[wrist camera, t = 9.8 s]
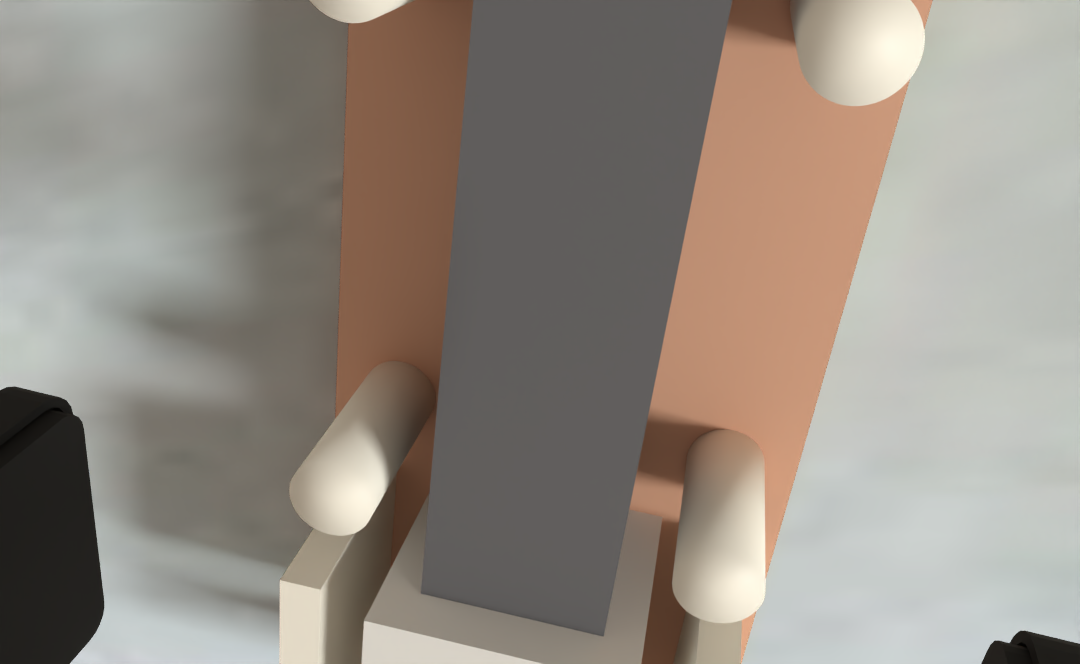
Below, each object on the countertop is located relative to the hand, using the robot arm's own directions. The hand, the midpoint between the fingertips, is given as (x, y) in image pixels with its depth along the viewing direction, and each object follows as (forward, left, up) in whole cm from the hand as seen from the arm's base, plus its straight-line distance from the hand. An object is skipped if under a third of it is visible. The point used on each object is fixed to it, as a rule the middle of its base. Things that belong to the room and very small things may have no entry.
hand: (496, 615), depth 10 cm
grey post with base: (0, -1, -10) cm, 10 cm away
